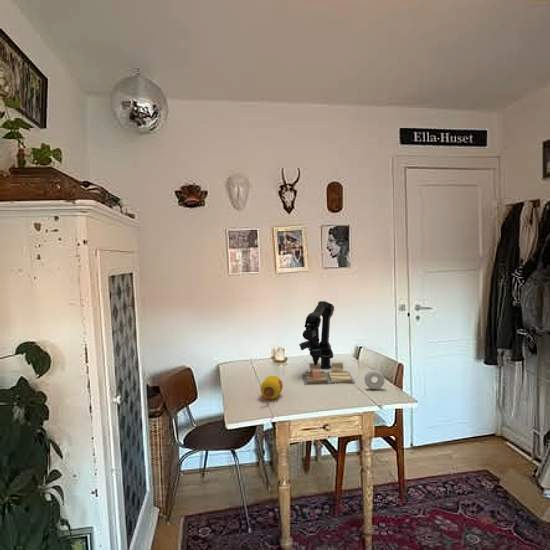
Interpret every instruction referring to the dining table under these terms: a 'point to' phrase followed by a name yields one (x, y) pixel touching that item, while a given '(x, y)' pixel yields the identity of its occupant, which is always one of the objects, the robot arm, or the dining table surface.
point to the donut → (374, 374)
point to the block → (316, 373)
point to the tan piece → (339, 373)
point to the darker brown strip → (310, 375)
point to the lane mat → (327, 379)
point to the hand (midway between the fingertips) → (314, 363)
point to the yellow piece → (271, 387)
